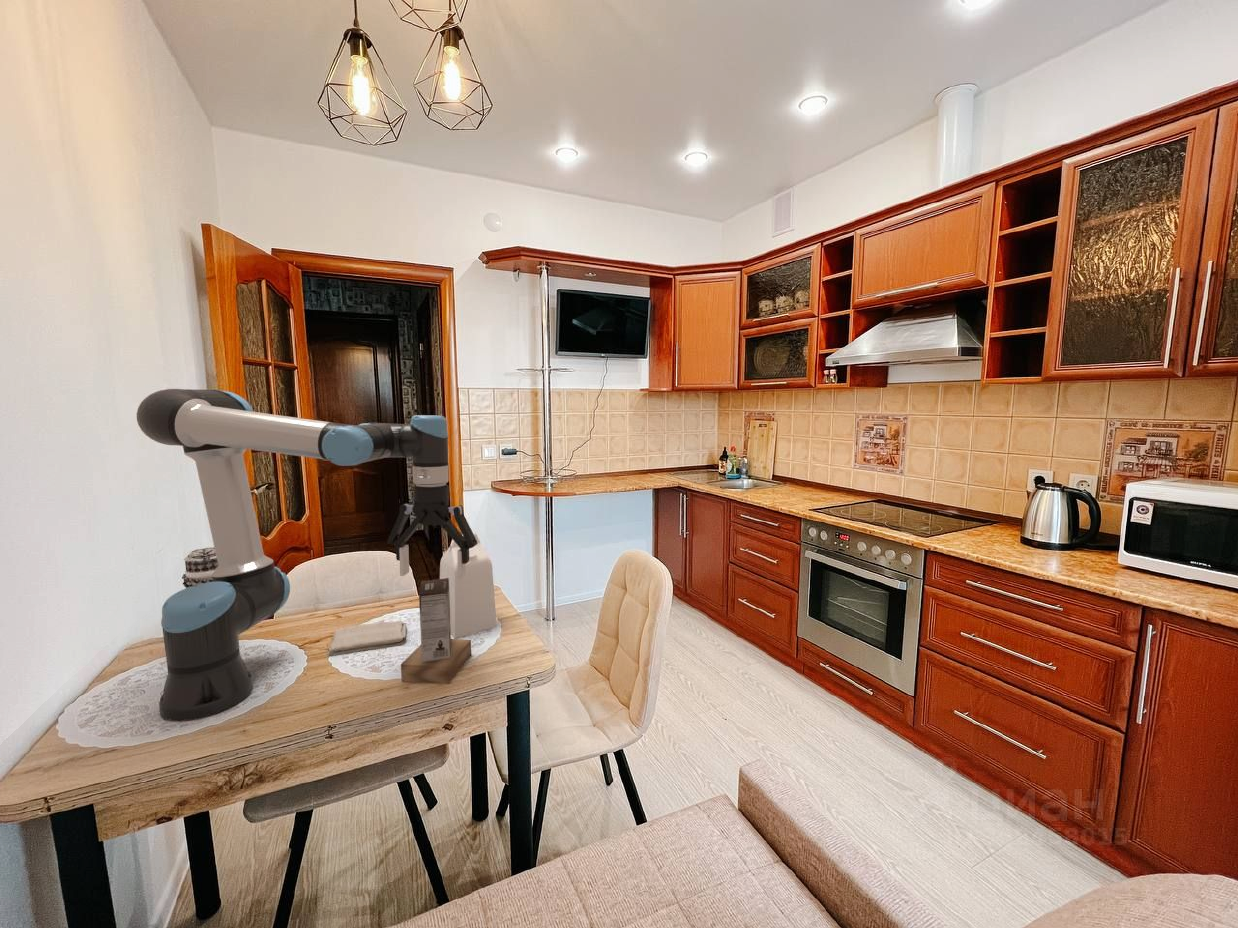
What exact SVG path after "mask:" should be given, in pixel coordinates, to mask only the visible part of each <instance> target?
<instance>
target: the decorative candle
mask: <svg viewBox="0 0 1238 928" xmlns="http://www.w3.org/2000/svg"><path fill="white" fill-rule="evenodd" d="M183 561H184V564H185V565H184V566H185V571H184V573H183V574H182V577H181V579H182V580H183V582H182V585H183V586H184V587H185V588H184V589H186V588H188V587H191V586H197V585H198V584H202V583H207V582H213V578H212V573H213V572H214V571H215V570H216V568H217V567H218V561H217V556H216V552H215V547H205V548H204V547H203V548H197V549H195V550H192V551H190V553H188V554H187V556H186V557H184V558H183Z"/></svg>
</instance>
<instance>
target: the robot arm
mask: <svg viewBox="0 0 1238 928" xmlns="http://www.w3.org/2000/svg"><path fill="white" fill-rule="evenodd" d="M136 422H137V425H138V427H139V428H140V430H141V432H142V433H143V434H144V435H145V436H147V437H148V438H149V439H150V440H152V441H154V442H156V443H158V444H161V445H162V444H163V445H166V446H180V447H182V448H183V453H184V455H185V456H186V457H188V458H190V459H192V460H193V461H194V462H195V466H196V470H197V475H198V479H199V484H200V489H201V492H202V493H201V494H202V497H203V501H204V506H205V507H204V508H205V511H206V515H207V518H208V524H209V529H210V533H211V538H212V542H213V548H215V552H216V556H217V561H218V567H217V568H216V570H215V571H214V572H213V573H212V578H213V582H207V583H202V584H198V585H197V586H191V587H188V588H186V587H185V588H186V589H185V588H184V589H181V590H179V591H177V592H175V593H173V594H172V595H170V596H169V597H168V598H167V599H166V600H165V601H164V603H163V605H162V607H161V619H160V620H161V622H160V624H161V627H162V633H163V634H162V637H163V642H164V652H165V659H166V660H165V661H166V668H167V674H166V679H165V682H164V686H163V689H162V690H163V693H162V695H161V696H160V699H159V701H158V707H159V715H160V717H161V718H162V719H164V720H168V721H172V722H173V721H174V722H177V721H178V722H182V721H191V720H196V719H201V718H204V717H208V716H209V717H210V716H212V715H215V714H218V713H220V712H223V711H225V710H228V709H229V708H233V706H236V705H237V704H239V703H240V702H241V703H242V701H243V700H245V699H246V698H247V697H248V696H249V695H250V694H251V693H252V691H253V690H254V684H253V683H254V682H253V676H252V674H251V672H249V670H248V667H247V665H246V664H245V662H244V659H243V658H242V656H241V652H240V642H239V641H240V639H239V635H241V634H243V633H245V632H246V631H248V630H249V629H251V628H252V627H254V626H256V625H258V624H259V623H261V622H263V621H264V620H267V619H269V618H271V617H272V616H273V615H275V614H276V613H277V612H278V611H280V610H281V609H282V608H283V606H284V605H286V603H287V601H288V600H289V597H290V593H291V584H290V580H289V578H288V576H287V574H286V573H285V572H282V569H280V568H279V567H277V566H275V563H274V562H275V561H274V559H273V558H271V557H268V556H266V555H265V553H264V549H263V545H262V538H261V534H260V529H259V526H258V525H259V524H258V520H257V515H256V510H255V505H254V501H253V496H252V491H251V487H250V482H249V477H248V472H247V467H246V462H245V459H244V454H245V453H246V451H247V450H252V451H259V452H268V453H273V454H274V453H275V454H281V455H282V454H283V455H289V456H296V457H306V458H311V459H319V460H327V461H329V462H331V463H332V464H334V465H336V466H341V467H345V466H350V467H351V466H358V465H360V464H363V463H367V462H372V461H376V460H380V459H384V458H385V459H386V458H411V460H412V483H413V484H415V485H414V486H413V487H412V491H413V492H412V496H413V498H412V499H413V504H412V505H411V504H410V503H409V502H408V503H404V504H402V505H400V506H399V514H398V516H397V519H396V521H395V523H394V526H393V527H392V529H391V532H390V534H389V536H388V538H387V541H386V543H387V544H388V545H392V546H394V547H395V558H396V561H399V576H400V577H404V576H406V575H407V574H409V573H410V558H409V557H410V555H409V554H410V553H409V550H410V549H409V544H407V541H409V539H410V538H411V537H412V536H413V534H415V532H416V531H417V530H418V528H419V527H420V526H421V525H422V526H434V527H435V526H436V527H437V526H440V528H442V529H444V531H445V532H446V533H447V534H448V536H449V537H450V538H451V540H452V539H453V540H454V541H455V543H456V544H457V545H458V546H459V547H460V549H459V550H458V551H457V559H458V579H462V578H463V577H464V576H465V575H466V563H468V562H469V548H473V547H474V546H475V545H477V540H476V538H475V536H474V534H473V533H474V532H473V530H472V528H471V526H470V524H469V522H468V520H467V518H466V517H465V514H464V513H465V512H464V508H463V505H461V504H460V505H456V506H450V504H449V503H450V501H449V500H450V494H449V493H450V491H449V489H450V487H449V485H448V484H447V483H448V482H449V434H448V422H447V419H446V417H445V416H444V415H436V414H435V415H434V414H433V415H430V414H429V415H426V414H421V415H419V414H418V415H417V414H414V415H412V416H411V419H410V423H389V422H387V423H385V422H383V423H382V422H368V423H367V422H365V423H359V424H358V425H354V424H345V423H339V422H331V421H324V420H315V419H307V418H301V417H295V416H287V415H281V414H271V413H265V412H257V411H254V409H253V408H252V406H251V404H250V403H249V402H248V401H247V400H246V399H245V398H244V397H241V395H238V393H235V392H231V391H227V390H226V391H225V390H221V389H183V388H167V389H162V390H158V391H155V392H153V393H151V394H149V395H147V396H146V397H145V398H143V400H142V401H141V402H140V403H139V406H138V408H137V412H136ZM412 513H413V514H414V516H415V518H414V519H413V520H412V521H411V523H410V525H409V526H408V527H407V528H406V530H405V531H404V532H403V529H404V527H405V524H406V522H407V521H408V519H409V517H410V515H411V514H412ZM450 513H451V515H452V516H453V517H454V520H455V523H456V524H457V526H458V528H459V529H458V528H457V526H455V524H454V523H453V520H452V519H451V518H450V517H449V514H450ZM402 532H403V533H402ZM401 533H402V534H401ZM462 534H463V535H462ZM463 536H464V537H463Z"/></svg>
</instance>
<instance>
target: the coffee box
mask: <svg viewBox="0 0 1238 928" xmlns="http://www.w3.org/2000/svg"><path fill="white" fill-rule="evenodd" d="M418 601H419V604H418V605H419V621H420V622H419V624H420V628H419V629H420V640H421V641H420V645H421V651H422V662H427V661H434V660H441V659H447V658H450V657H451V639H452V636H451V626H450V598H449V578H445V579H440V578H438V579H430V580H428V579H427V580H421V581H420V586H419V593H418Z"/></svg>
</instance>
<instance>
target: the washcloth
mask: <svg viewBox="0 0 1238 928" xmlns="http://www.w3.org/2000/svg"><path fill="white" fill-rule="evenodd" d="M406 638H407V622H403V621H402V620H397V621H385V620H384V621H383V620H382V621H378V622H374V623H367V624H358V625H353V626H352V625H351V626H347V627H340V628H338V629H336V630H334V632H333V634H332V642H331V643H330V645H329V648H328V655H329V656H331V657H333V656H337V655H346V654H353V653H358V652H357V651H360V652H365V651H370V650H369V649H372V650H378V649H382V648H391V647H397V645H398V646H402V645H403V644H404V643H405V641H406ZM404 645H405V644H404ZM404 645H403V646H404ZM364 650H365V651H364Z"/></svg>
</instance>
